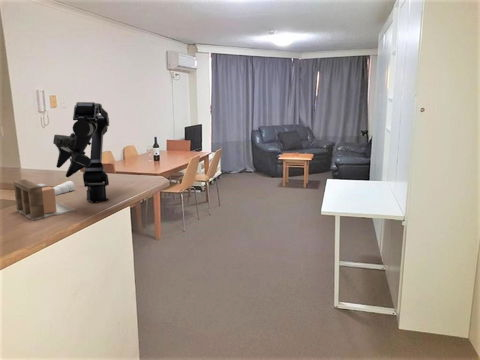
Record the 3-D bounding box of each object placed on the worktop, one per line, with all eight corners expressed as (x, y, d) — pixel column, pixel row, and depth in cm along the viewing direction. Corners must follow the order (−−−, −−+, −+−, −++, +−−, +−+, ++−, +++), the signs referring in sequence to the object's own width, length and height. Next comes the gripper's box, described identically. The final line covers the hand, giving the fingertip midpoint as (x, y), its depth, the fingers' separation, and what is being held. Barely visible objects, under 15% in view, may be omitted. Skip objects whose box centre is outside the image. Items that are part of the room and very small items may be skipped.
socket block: (58, 202, 153) (55, 175, 151) (75, 210, 143) (72, 181, 141) (16, 210, 142) (13, 181, 140) (32, 220, 133) (29, 188, 130)
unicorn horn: (17, 202, 154) (15, 190, 153) (68, 190, 174) (68, 179, 173) (24, 204, 152) (22, 192, 151) (75, 191, 172) (75, 181, 171)
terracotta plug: (51, 208, 143) (49, 186, 141) (56, 211, 140) (54, 188, 138) (34, 212, 138) (32, 189, 137) (39, 214, 136) (36, 191, 134)
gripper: (54, 118, 141) (32, 155, 141) (73, 134, 129) (50, 174, 130) (80, 131, 150) (60, 165, 150) (101, 147, 138) (79, 184, 138)
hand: (62, 172), depth 142 cm, fingers open, 9 cm apart
